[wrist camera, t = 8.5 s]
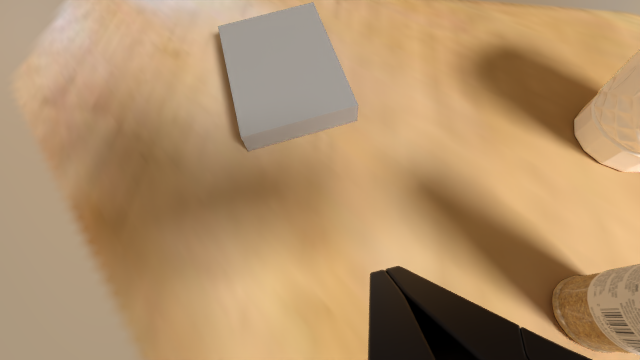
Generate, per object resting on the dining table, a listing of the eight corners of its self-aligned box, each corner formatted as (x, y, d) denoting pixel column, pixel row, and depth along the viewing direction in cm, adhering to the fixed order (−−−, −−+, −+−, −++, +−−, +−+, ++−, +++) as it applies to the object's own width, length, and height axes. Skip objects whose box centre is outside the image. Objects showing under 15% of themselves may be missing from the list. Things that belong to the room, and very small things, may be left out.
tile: (358, 105, 25) (313, 2, 31) (240, 137, 25) (217, 26, 31) (356, 123, 28) (315, 24, 34) (249, 153, 27) (226, 47, 33)
